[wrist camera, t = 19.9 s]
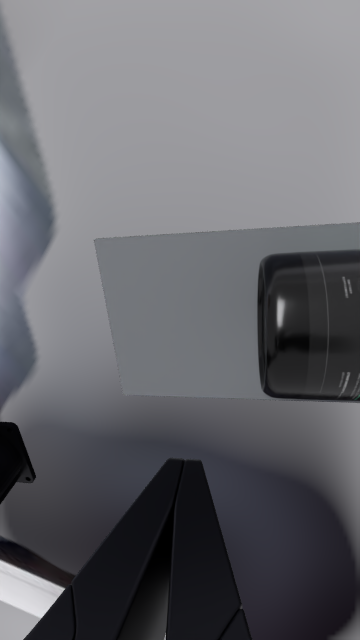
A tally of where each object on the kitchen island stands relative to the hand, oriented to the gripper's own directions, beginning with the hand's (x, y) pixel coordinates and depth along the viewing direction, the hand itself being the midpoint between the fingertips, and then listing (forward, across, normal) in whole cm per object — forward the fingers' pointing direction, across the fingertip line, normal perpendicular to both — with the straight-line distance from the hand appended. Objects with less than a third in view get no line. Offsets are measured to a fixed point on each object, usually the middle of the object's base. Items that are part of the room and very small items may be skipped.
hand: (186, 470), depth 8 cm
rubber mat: (+13, -2, +2) cm, 13 cm away
